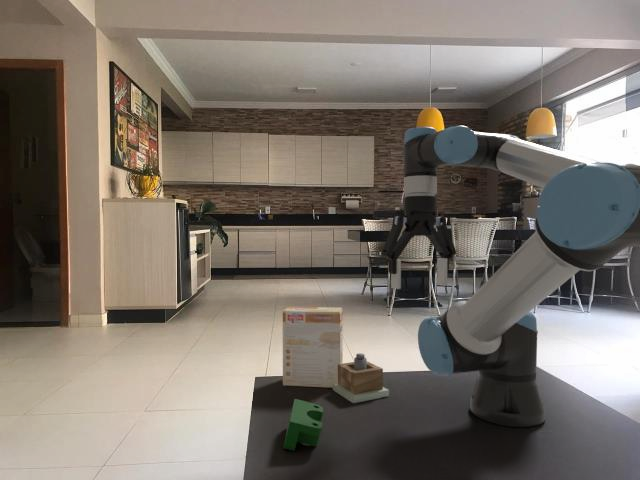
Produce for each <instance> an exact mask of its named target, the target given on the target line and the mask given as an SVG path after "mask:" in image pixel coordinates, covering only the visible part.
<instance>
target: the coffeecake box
mask: <svg viewBox="0 0 640 480" xmlns="http://www.w3.org/2000/svg"><path fill="white" fill-rule="evenodd" d="M343 325H344V324H343V307H325V306H324V307H323V306H321V307H319V306H316V307H315V306H311V307H310V306H287V307H286V308H285V309H283V310H282V386H284V387H285V386H289V387H309V388H311V387H312V388H327V389H329V388H332V389H333V384H335V383H338V364H344V363H343V361H344V360H343V356H344V355H343V350H344V349H343V345H344V344H343V343H344V342H343V336H344V335H343V330H344V329H343Z"/></svg>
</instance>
